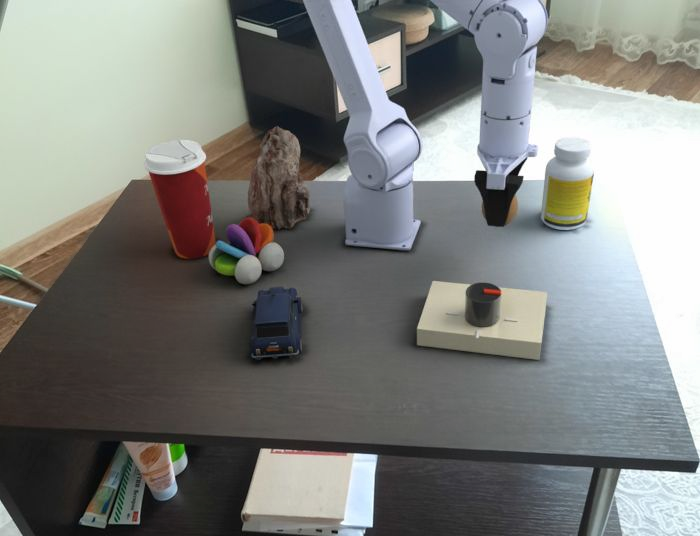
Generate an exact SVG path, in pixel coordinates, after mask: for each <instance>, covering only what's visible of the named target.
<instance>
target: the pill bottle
mask: <svg viewBox="0 0 700 536" xmlns="http://www.w3.org/2000/svg"><path fill="white" fill-rule="evenodd" d="M591 150H592V144H591V142H590V141H588V140H587V139H585V138H581V137H576V136H574V137H573V136H567V137H563V138H560V139H557V141H556V142H555V144H554V150H553V154H554V157H552V158H551V159H549V160H548V162H547V163H546V165H545V171H544V182H543V191H542V200H541V209H540V219H541V221H542V222H543V224H544V225H546V226H547V227H549V228H551V229H555V230H559V231H560V230H561V231H570V230H571V231H572V230H576V229H579V228H581V227H582V226H584V225H585V223H586V222H587V220H588V215H589V207H590V201H591V194H592V188H593V181H594V175H595V165H594V163H593V162H592V161H591V159H590V158H589V157H590V154H591Z"/></svg>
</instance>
